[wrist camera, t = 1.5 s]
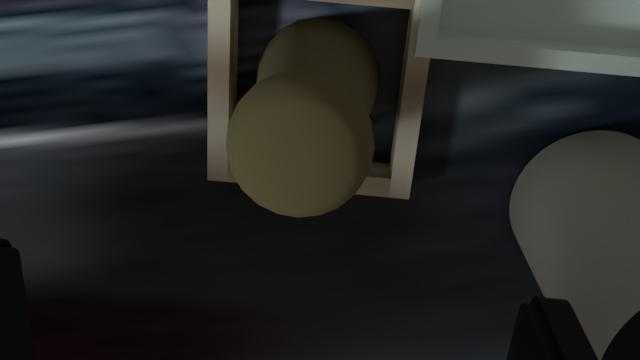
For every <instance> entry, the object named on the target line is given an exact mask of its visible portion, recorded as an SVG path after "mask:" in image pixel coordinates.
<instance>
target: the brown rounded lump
mask: <svg viewBox="0 0 640 360" xmlns="http://www.w3.org/2000/svg"><path fill="white" fill-rule="evenodd" d="M379 84H380V78H379V70H378V62H377V60H376V58H375V56H374V54H373V51H372V49H371V47H370V45H369V44H368V43H367V42H366V41H365V40H364V39H363V37H362V36H361V35H360V34H359V33H358V32H357V31H356V30H354V29H352V28H351V27H349V26H347V25H345V24H343V23H341V22H339V21H336V20H331V19H325V18H319V17H317V18H310V19H304V20H298V21H296V22H294V23H292V24H290V25H288V26H286V27H284V28H282V29H281V30H280V31H279V32H278V33H277V34H276V35H275V36H274V37H273V38H272V39H271V40H270V41H269V42H268V43H267V45H266V47H265V49H264V52H263V54H262V56H261V58H260V60H259V67H258V75H257V82H256V84H255V85H254V86H253V87H252V88H251V89H250V90H249V91H248V92H247V93H246V94H245V95H244V96H243V97H242V98H241V99H240V101H239V102H238V103H237V105H236V108H235V110H234V112H233V114H232V116H231V118H230V120H229V122H228V128H227V138H226V152H227V156H228V161H229V165H230V170H231V172H232V174H233V176H234V178H235V179H236V181H237V183H238V184H239V186H240V188H241V189H242V190H243V191H244V192H245V193H246V194H247V195H248V196H249V197H250V198H251V199H252V200H254V201H255V202H256V203H257V204H258V205H260V206H262V207H264V208H266V209H268V210H270V211H272V212H275V213H277V214H281V215H286V216H292V217H298V218H301V217H310V216H319V215H322V214H325V213H327V212H329V211H332V210H334V209H336V208H339V207H341V206H342V205H343V204H344V203H345V202H346V201H348V200H349V199H350V198H351V197H352V196H353V195H355V194H356V193H357V191H358V190H359V188H360V187H361V185H362V183H363V182H364V180H365V178H366V177H367V175H368V173H369V172H370V169H371V164H372V160H373V155H374V150H375V146H374V138H373V130H372V122H371V120H370V118H369V115H370V113H371V111H372V108H373V106H374V104H375V101H376V98H377V93H378V88H379Z"/></svg>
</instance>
